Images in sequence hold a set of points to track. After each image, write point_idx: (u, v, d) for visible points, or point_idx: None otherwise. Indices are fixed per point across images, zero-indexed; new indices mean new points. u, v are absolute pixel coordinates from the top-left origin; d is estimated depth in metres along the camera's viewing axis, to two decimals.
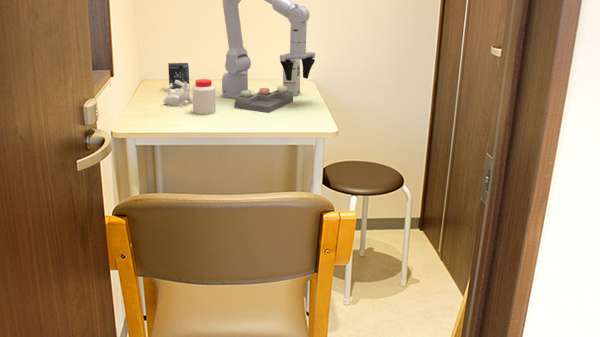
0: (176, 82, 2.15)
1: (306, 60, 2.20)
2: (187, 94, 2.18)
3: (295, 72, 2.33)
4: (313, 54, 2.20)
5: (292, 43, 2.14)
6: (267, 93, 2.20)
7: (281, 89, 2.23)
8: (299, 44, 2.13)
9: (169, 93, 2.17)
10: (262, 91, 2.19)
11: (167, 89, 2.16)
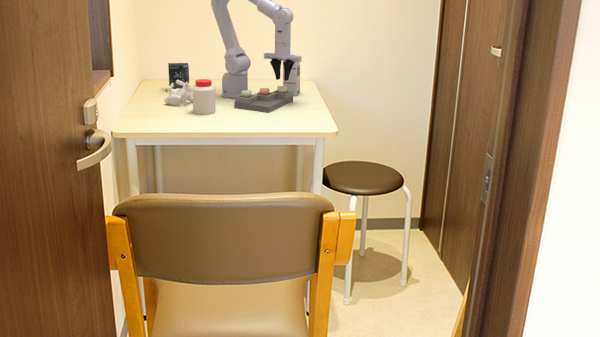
0: (177, 82, 2.15)
1: None
2: (188, 94, 2.18)
3: (295, 72, 2.33)
4: (297, 58, 2.17)
5: None
6: (267, 93, 2.20)
7: (281, 89, 2.23)
8: (276, 44, 2.17)
9: (170, 93, 2.17)
10: (262, 91, 2.19)
11: (168, 89, 2.17)
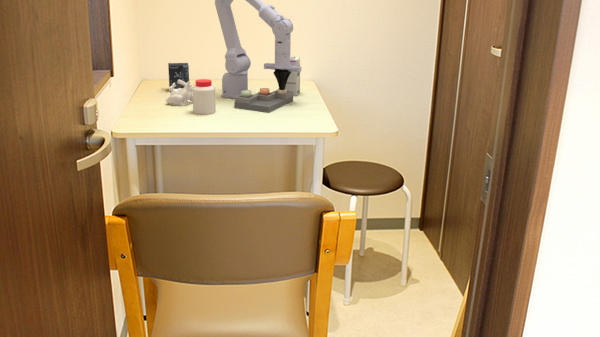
0: (179, 82, 2.15)
1: None
2: (190, 94, 2.18)
3: (295, 72, 2.33)
4: (296, 68, 2.19)
5: None
6: (267, 93, 2.20)
7: (281, 92, 2.23)
8: (276, 55, 2.19)
9: (172, 93, 2.17)
10: (262, 91, 2.19)
11: (170, 89, 2.17)
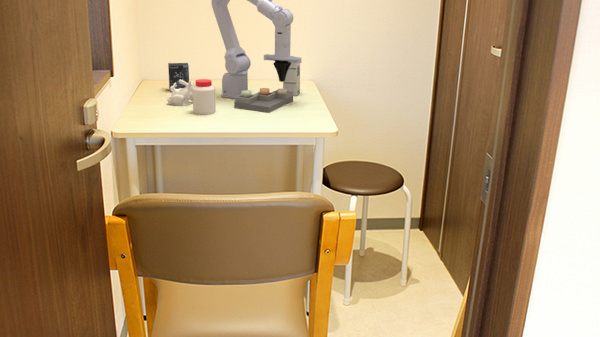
0: (180, 82, 2.15)
1: None
2: (191, 94, 2.18)
3: (295, 72, 2.33)
4: (297, 59, 2.17)
5: None
6: (267, 93, 2.20)
7: (281, 92, 2.23)
8: (276, 46, 2.18)
9: (173, 93, 2.17)
10: (262, 91, 2.19)
11: (171, 89, 2.17)
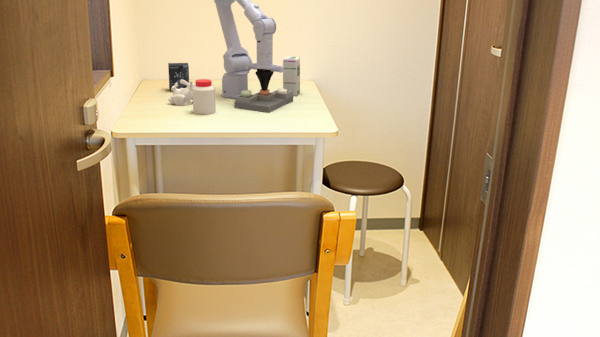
0: (181, 81, 2.16)
1: None
2: (192, 93, 2.19)
3: (295, 72, 2.33)
4: (279, 68, 2.14)
5: None
6: (267, 94, 2.20)
7: (281, 92, 2.23)
8: (258, 55, 2.14)
9: (174, 92, 2.18)
10: (262, 92, 2.19)
11: (172, 88, 2.17)
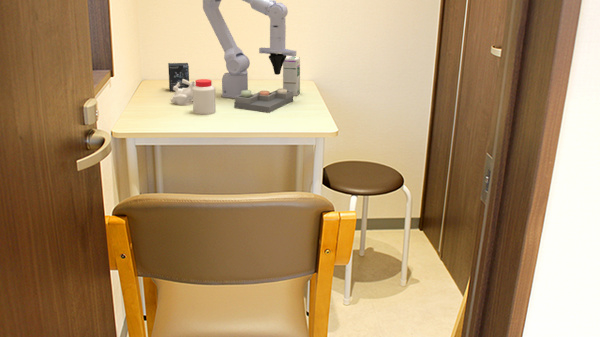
0: (183, 81, 2.16)
1: None
2: None
3: (295, 72, 2.33)
4: (291, 52, 2.20)
5: None
6: None
7: (281, 92, 2.23)
8: (271, 39, 2.20)
9: (176, 92, 2.18)
10: (262, 94, 2.19)
11: (174, 88, 2.18)
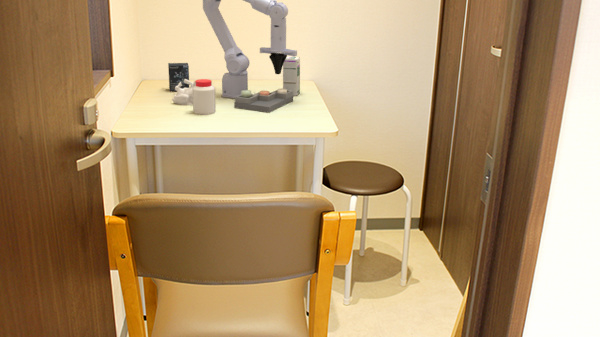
0: (185, 81, 2.17)
1: None
2: None
3: (295, 72, 2.33)
4: (292, 52, 2.20)
5: None
6: None
7: (281, 92, 2.23)
8: (272, 39, 2.20)
9: (178, 92, 2.18)
10: (262, 94, 2.19)
11: (176, 88, 2.18)
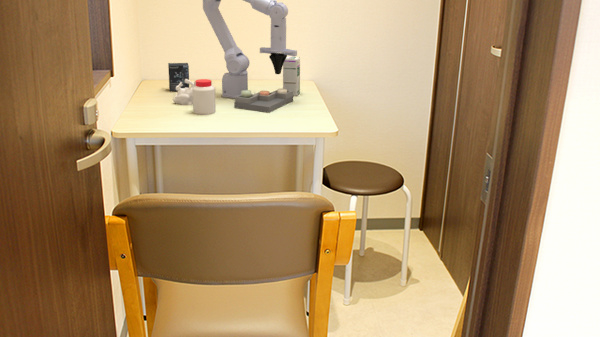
0: (186, 81, 2.17)
1: None
2: None
3: (295, 72, 2.33)
4: (292, 52, 2.20)
5: None
6: None
7: (281, 92, 2.23)
8: (272, 39, 2.20)
9: (179, 92, 2.18)
10: (262, 94, 2.19)
11: (177, 88, 2.18)
